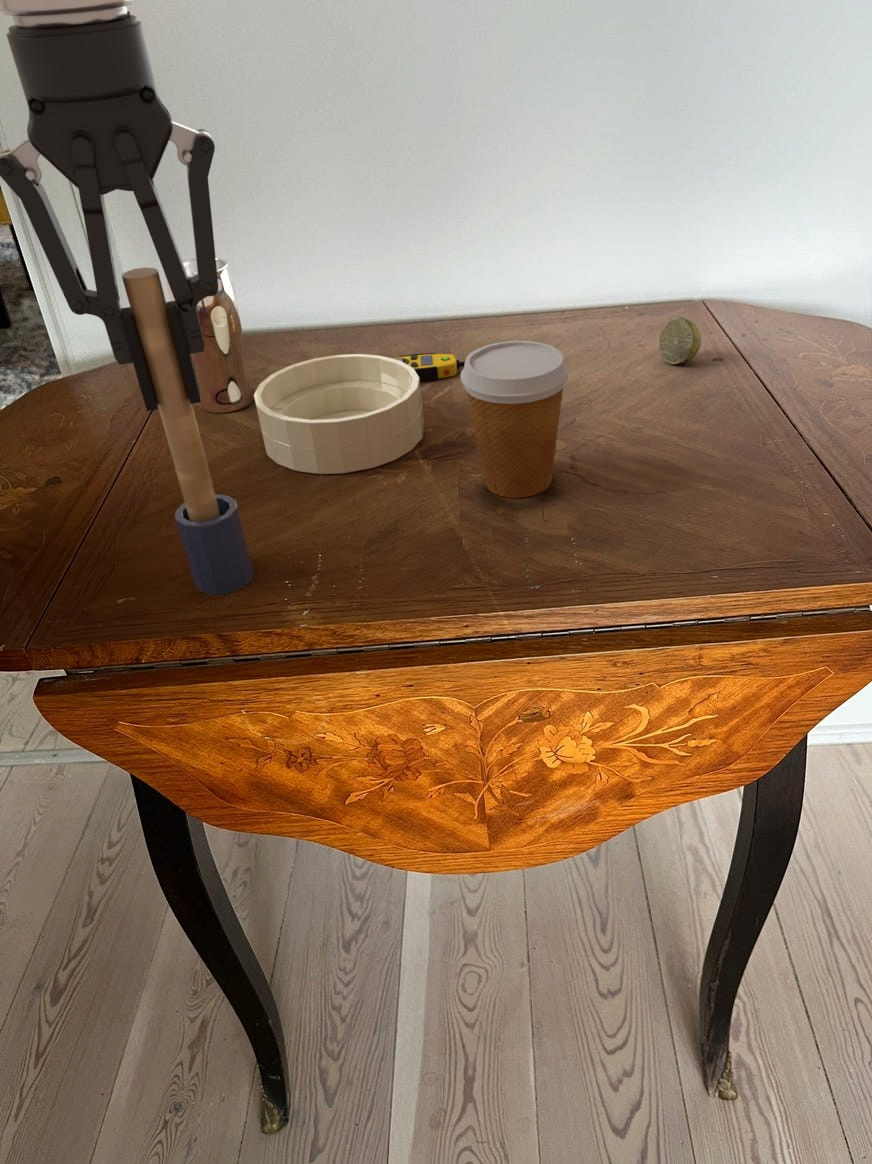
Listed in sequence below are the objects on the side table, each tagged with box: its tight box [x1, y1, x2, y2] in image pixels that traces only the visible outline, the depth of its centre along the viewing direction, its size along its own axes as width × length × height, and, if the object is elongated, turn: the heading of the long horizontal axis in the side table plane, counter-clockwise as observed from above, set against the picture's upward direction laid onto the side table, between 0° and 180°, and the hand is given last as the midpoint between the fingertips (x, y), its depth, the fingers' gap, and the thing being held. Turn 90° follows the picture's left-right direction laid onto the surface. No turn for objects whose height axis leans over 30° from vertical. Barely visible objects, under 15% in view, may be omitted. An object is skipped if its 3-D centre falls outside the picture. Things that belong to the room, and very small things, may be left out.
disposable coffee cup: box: [460, 340, 570, 499], centre depth 86 cm, size 10×10×12 cm
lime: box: [658, 316, 702, 365], centre depth 108 cm, size 4×5×5 cm
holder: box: [174, 493, 255, 595], centre depth 77 cm, size 5×5×7 cm
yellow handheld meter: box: [392, 352, 465, 383], centre depth 111 cm, size 5×2×15 cm
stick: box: [121, 267, 220, 522], centre depth 70 cm, size 2×2×20 cm
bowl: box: [253, 353, 425, 475], centre depth 97 cm, size 16×16×6 cm
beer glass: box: [164, 257, 255, 414], centre depth 104 cm, size 7×7×15 cm
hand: (173, 398), depth 69 cm, fingers closed on stick, 2 cm apart
